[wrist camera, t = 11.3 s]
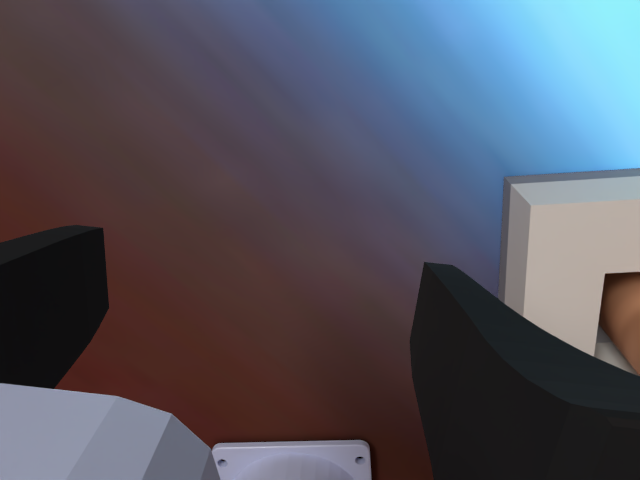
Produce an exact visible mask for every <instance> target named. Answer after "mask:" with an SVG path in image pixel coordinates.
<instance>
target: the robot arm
mask: <svg viewBox="0 0 640 480" xmlns="http://www.w3.org/2000/svg"><path fill="white" fill-rule="evenodd" d="M108 309H109V302H108V288H107V275H106V261H105V248H104V234H103V228H98V227H89V226H80V225H73V226H65V227H59V228H54V229H50V230H46V231H42V232H38V233H34V234H31V235H27V236H23V237H20V238H16V239H13V240H9V241H5V242H2V243H0V480H372V478H371V462H370V447H369V444H368V443H367V442H365V441H363V440H333V441H289V442H246V443H219V444H216V445H215V446H214V447H213V450H212V451H211V449H210V448H209V447H208V446H207V445H206V444H205V443H204V442H203V441H201V440H200V439H199V438H198V437H197V436H196V435H195V434H194V433H193V432H191V431H190V430H189V429H188V428H187V427H186V426H185V425H184V424H182V423H181V422H180V421H179V420H178V419H177V418H176V417H175V416H174V415H172V414H170V413H167V412H164V411H161V410H158V409H155V408H152V407H149V406H146V405H143V404H140V403H137V402H134V401H131V400H127V399H124V398H121V397H118V396H110V395H101V394H92V393H83V392H75V391H66V390H57V389H54V388H55V387H56V385H57V384H58V383H59V382H60V380H61V379H62V378H63V377H64V375H65V374H66V373H67V371H68V370H69V369H70V368H71V366H72V365H73V364H74V362H75V361H76V360H77V359H78V357H79V356H80V355H81V353H82V352H83V351H84V349H85V348H86V347H87V345H88V344H89V343H90V341H91V340H92V338H93V336H94V334H95V333H96V331H97V329H98V328H99V326H100V324H101V322H102V320H103V318H104V316H105V314H106V312H107V311H108ZM410 351H411V366H412V378H413V383H414V388H415V392H416V397H417V402H418V406H419V411H420V415H421V420H422V424H423V429H424V433H425V438H426V442H427V447H428V451H429V456H430V460H431V465H432V471H433V477H434V480H640V376H638V375H635V374H632V373H630V372H627V371H625V370H623V369H621V368H618V367H616V366H614V365H611V364H609V363H607V362H605V361H602V360H600V359H598V358H596V357H593V356H591V355H589V354H587V353H585V352H583V351H581V350H579V349H577V348H575V347H573V346H572V345H570V344H568V343H566V342H564V341H562V340H561V339H559V338H557V337H555V336H553V335H551V334H550V333H548V332H546V331H545V330H543V329H541V328H540V327H538V326H537V325H535V324H534V323H532V322H530V321H529V320H527V319H526V318H524V317H523V316H521V315H520V314H518V313H517V312H515V311H514V310H513V309H511V308H510V307H508V306H507V305H506V304H504V303H503V302H502V301H500V300H499V299H498V298H496V297H495V296H494V295H492V294H491V293H490V292H488V291H487V290H486V289H484V288H483V287H482V286H481V285H479V284H478V283H477V282H475V281H474V280H473V279H472V278H470V277H469V276H468V275H466V274H465V273H464V272H462V271H461V270H459V269H458V268H456V267H455V266H453V265H446V264H437V263H427V262H424V267H423V272H422V277H421V283H420V288H419V294H418V299H417V305H416V310H415V315H414V321H413V326H412V332H411V337H410ZM357 457H363V458H361V459H359V458H357ZM221 459H223V460H225V461H222V460H221Z"/></svg>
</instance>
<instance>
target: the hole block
mask: <svg viewBox="0 0 640 480" xmlns="http://www.w3.org/2000/svg"><path fill="white" fill-rule="evenodd" d="M624 272H640V168H636V169H620V170H605V171H589V172H574V173H558V174H542V175H527V176H511V177H504V189H503V210H502V230H501V251H500V271H499V292H498V299H499V300H500V301H502V302H503V303H504V304H506V305H507V306H508V307H510V308H511V309H513V310H514V311H515V312H517V313H518V314H520V315H521V316H523V317H524V318H526V319H527V320H529V321H530V322H532V323H534V324H535V325H537V326H538V327H540V328H541V329H543V330H545V331H546V332H548V333H550V334H551V335H553V336H555V337H557V338H559V339H561V340H562V341H564V342H566V343H568V344H570V345H572V346H573V347H575V348H577V349H579V350H581V351H583V352H585V353H587V354H589V355H591V356H593V357H596V358H598V359H600V360H602V361H605V362H607V363H609V364H611V365H614V366H616V367H618V368H621V369H623V370H625V371H627V372H630V373H632V374H635V375H638V376H639V374H638V373H637V372H636V371H635V369H634V368H633V367H632V366H631V364H630V363H629V362H628V361H627V359H626V358H625V357H624V356H623V354H622V353H621V352H620V350H619V349H618V348H617V347H616V345H615V344H614V343H613V342H612V340H611V339H610V338H609V337H608V335H607V334H606V333H605V332H604V330H603V329H602V328H601V326H600V325H599V324H598V322H599V314H600V306H601V299H602V291H603V284H604V276H605V273H624Z"/></svg>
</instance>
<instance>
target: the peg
mask: <svg viewBox="0 0 640 480" xmlns="http://www.w3.org/2000/svg"><path fill="white" fill-rule="evenodd" d="M598 324H599V325H600V326H601V328H602V329H603V330H604V332H605V333H606V334H607V335H608V337H609V338H610V339H611V340H612V342H613V343H614V344H615V345H616V347H617V348H618V349H619V350H620V352H621V353H622V354H623V356H624V357H625V358H626V359H627V361H628V362H629V363H630V364H631V366H632V367H633V368H634V369H635V371H636V372H637V373H638V374H639V376H640V272H624V273H605V276H604V284H603V291H602V299H601V306H600V314H599V322H598Z"/></svg>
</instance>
